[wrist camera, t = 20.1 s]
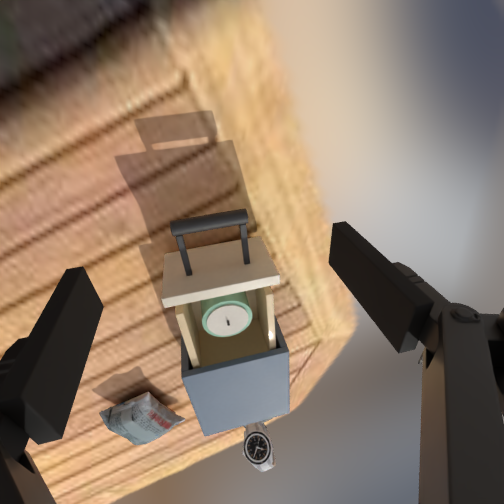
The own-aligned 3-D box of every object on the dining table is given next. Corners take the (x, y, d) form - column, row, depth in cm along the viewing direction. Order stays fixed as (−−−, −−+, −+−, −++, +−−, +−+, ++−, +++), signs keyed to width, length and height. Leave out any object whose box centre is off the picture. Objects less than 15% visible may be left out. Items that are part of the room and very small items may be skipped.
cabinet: (180, 315, 39) (181, 378, 31) (267, 296, 40) (289, 351, 33) (200, 375, 47) (204, 436, 39) (271, 357, 49) (289, 413, 41)
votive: (192, 279, 33) (194, 317, 28) (236, 263, 33) (246, 298, 28) (207, 309, 36) (212, 348, 31) (248, 295, 37) (259, 332, 32)
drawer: (149, 204, 28) (140, 243, 22) (257, 187, 30) (278, 218, 24) (188, 331, 39) (190, 381, 33) (266, 313, 41) (282, 358, 35)
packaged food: (149, 378, 44) (146, 409, 40) (185, 408, 51) (185, 438, 47) (101, 399, 45) (93, 432, 41) (143, 426, 52) (139, 457, 48)
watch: (257, 389, 53) (273, 454, 44) (271, 406, 58) (288, 468, 49) (230, 400, 53) (241, 468, 44) (246, 417, 58) (259, 480, 49)
